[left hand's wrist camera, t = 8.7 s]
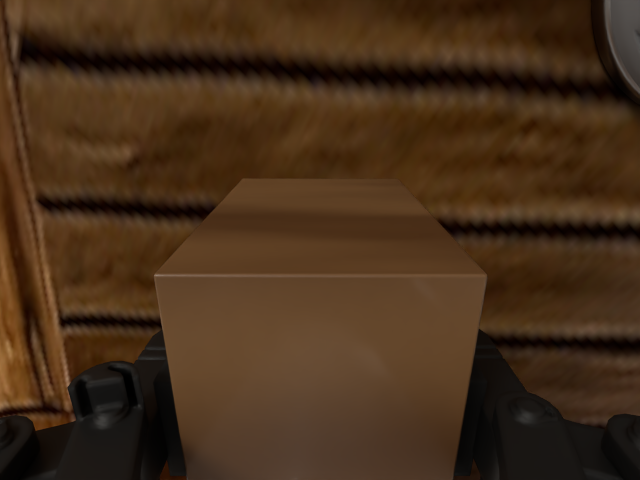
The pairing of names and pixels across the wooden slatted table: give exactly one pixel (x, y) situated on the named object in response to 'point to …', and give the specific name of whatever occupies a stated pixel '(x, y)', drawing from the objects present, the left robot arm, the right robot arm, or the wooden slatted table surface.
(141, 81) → the wooden slatted table surface
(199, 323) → the bar
